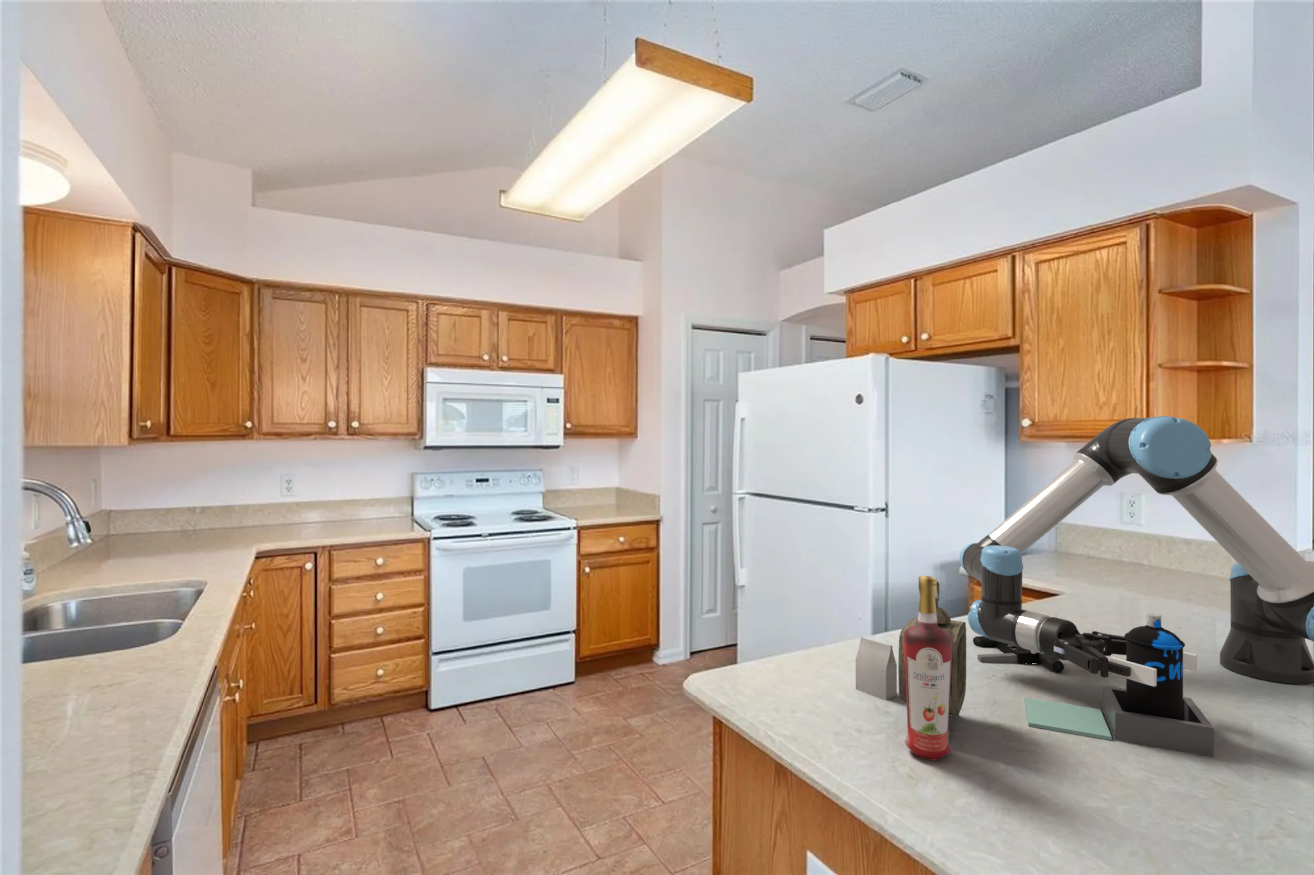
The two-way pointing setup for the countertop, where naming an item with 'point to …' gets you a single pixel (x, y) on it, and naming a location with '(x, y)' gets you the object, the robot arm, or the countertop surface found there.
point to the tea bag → (876, 669)
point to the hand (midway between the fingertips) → (1176, 670)
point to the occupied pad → (1066, 718)
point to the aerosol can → (1167, 657)
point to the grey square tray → (1158, 725)
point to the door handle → (1015, 655)
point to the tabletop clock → (958, 658)
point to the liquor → (927, 678)
